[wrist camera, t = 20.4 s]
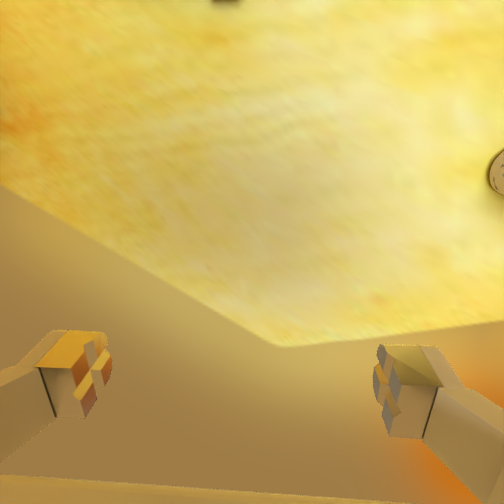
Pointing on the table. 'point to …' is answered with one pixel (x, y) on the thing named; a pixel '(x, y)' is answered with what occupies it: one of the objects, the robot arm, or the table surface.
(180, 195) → the table surface
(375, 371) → the robot arm
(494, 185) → the energy drink can
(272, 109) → the table surface
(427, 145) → the table surface
